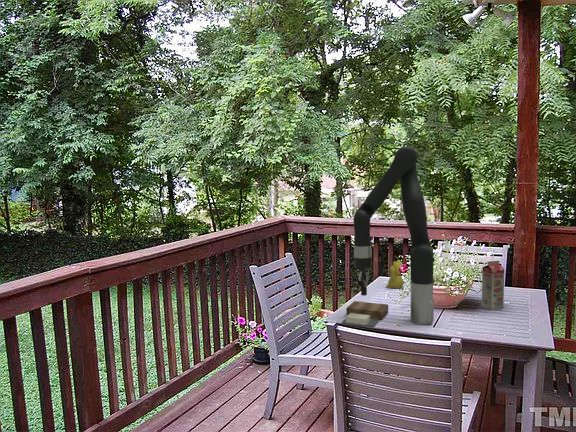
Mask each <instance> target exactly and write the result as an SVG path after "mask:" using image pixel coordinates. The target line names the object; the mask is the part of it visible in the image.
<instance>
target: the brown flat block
mask: <svg viewBox="0 0 576 432" xmlns="http://www.w3.org/2000/svg"><path fill="white" fill-rule="evenodd" d="M345 310H346V311H345V312H346V316H347V315H348V314H350V313H354V314H363V315H370V318H371V319H379V321H383V320H384V319H385V318H386V317H387V315H388V314H389V304H386V303H377V302H368V301H357V300H354V301H352V302H351V303H350V304H349V305H348V306H347V307H346V309H345Z"/></svg>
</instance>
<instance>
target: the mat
mask: <svg viewBox="0 0 576 432" xmlns="http://www.w3.org/2000/svg"><path fill="white" fill-rule="evenodd" d="M379 321H380V320H379V319H371V318H370V322H369V323H368V324H367V325H361V324H353V323H346V318H345V319H344V320H342V321H341V324H342V323H343V325H350V326H351V325H352V326H358V327H359V326H360V327H367V328H375V327H376V326H377V324H378V323H379Z"/></svg>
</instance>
